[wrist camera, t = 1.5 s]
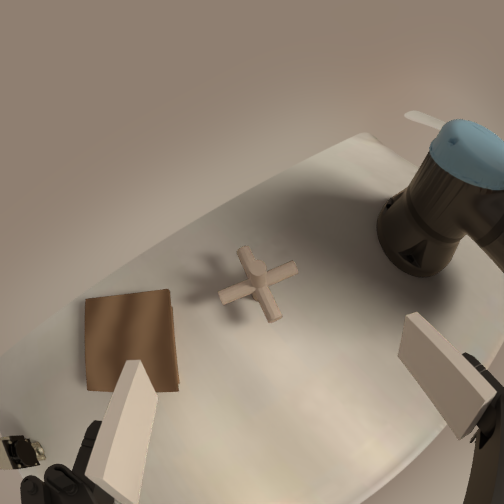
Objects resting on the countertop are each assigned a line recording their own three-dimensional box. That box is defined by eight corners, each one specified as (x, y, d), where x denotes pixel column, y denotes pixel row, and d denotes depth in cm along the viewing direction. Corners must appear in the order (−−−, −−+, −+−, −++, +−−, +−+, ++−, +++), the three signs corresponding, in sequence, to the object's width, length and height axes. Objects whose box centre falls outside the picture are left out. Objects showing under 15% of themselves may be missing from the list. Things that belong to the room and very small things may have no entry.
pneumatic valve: (61, 460, 26) (14, 469, 15) (27, 464, 24) (-16, 469, 13) (49, 431, 28) (0, 433, 18) (16, 438, 26) (-28, 438, 16)
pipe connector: (213, 278, 40) (199, 246, 31) (276, 252, 41) (279, 215, 32) (239, 341, 36) (231, 329, 27) (306, 312, 37) (321, 289, 28)
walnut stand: (178, 299, 39) (167, 288, 34) (187, 390, 33) (176, 391, 28) (102, 308, 38) (85, 298, 34) (105, 390, 33) (87, 390, 28)
